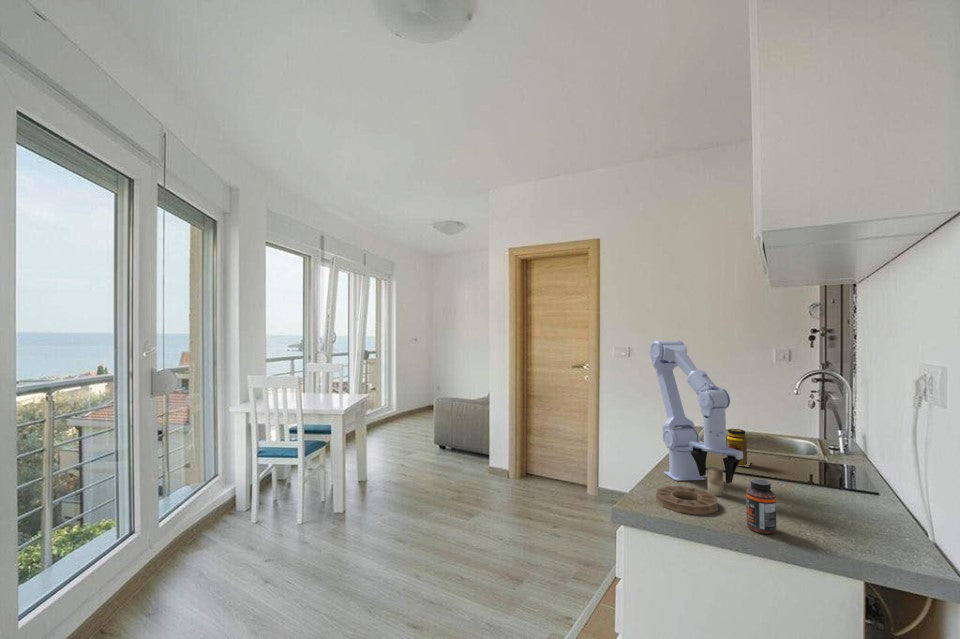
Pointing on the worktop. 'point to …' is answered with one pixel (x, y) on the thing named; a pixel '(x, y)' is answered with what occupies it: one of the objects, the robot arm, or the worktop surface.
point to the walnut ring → (700, 505)
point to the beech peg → (715, 481)
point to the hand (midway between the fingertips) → (715, 478)
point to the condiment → (738, 443)
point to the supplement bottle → (761, 507)
